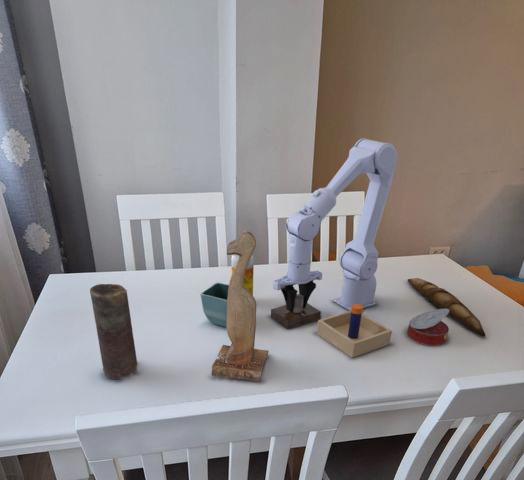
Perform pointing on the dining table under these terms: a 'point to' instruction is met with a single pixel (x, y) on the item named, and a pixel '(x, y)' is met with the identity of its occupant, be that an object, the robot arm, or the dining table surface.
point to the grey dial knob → (298, 303)
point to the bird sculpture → (240, 320)
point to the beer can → (249, 272)
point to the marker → (355, 321)
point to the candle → (114, 330)
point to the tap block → (295, 316)
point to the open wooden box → (368, 338)
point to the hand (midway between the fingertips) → (296, 308)
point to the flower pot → (216, 303)
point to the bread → (448, 304)
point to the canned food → (429, 327)
